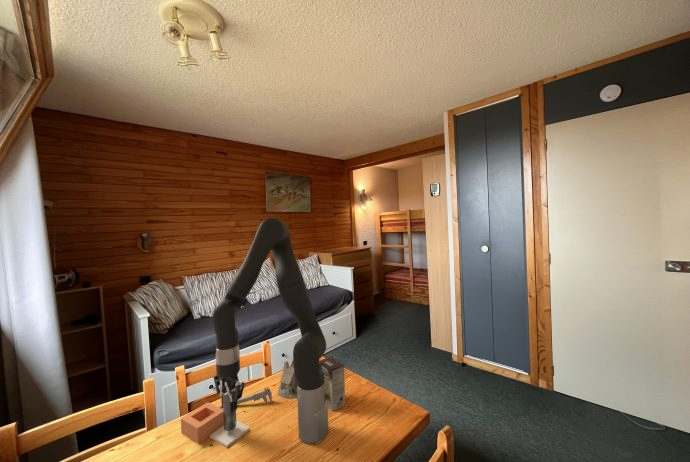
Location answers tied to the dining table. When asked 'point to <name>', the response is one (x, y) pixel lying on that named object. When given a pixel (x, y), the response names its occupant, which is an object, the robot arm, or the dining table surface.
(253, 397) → the caliper
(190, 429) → the block
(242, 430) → the mat
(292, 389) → the ceramic cottage
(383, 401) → the dining table surface
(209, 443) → the dining table surface
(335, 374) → the coffee box
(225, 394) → the dark grey bar
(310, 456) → the dining table surface
